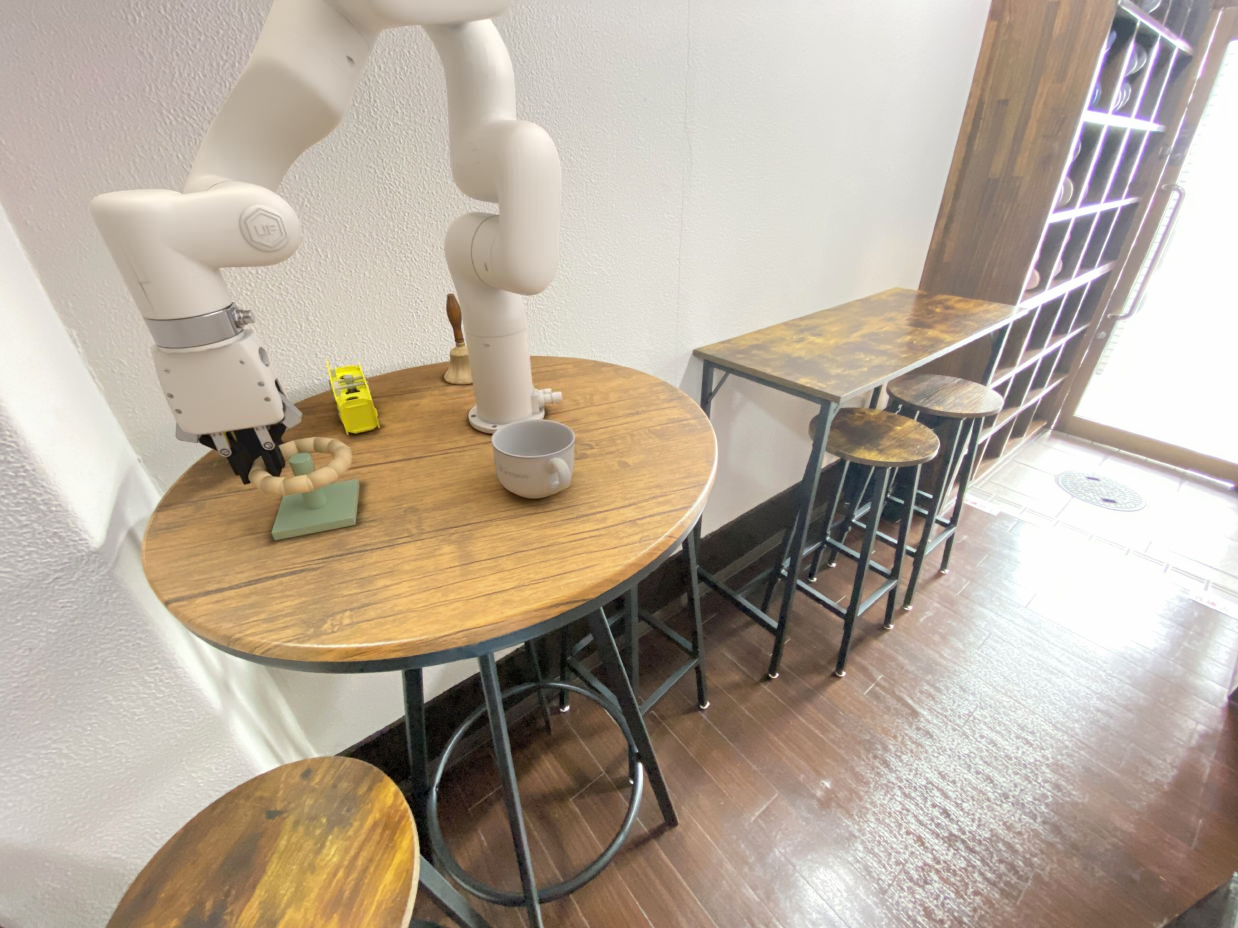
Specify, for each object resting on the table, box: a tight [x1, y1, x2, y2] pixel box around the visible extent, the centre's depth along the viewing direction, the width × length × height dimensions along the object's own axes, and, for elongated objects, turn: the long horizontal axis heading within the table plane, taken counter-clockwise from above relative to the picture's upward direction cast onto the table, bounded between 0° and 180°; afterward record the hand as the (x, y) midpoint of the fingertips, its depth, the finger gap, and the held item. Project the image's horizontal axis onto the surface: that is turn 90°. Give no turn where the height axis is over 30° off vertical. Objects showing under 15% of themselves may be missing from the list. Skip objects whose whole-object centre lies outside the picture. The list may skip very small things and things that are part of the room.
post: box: [271, 453, 360, 541], centre depth 67 cm, size 9×9×8 cm
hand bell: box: [443, 293, 473, 386], centre depth 101 cm, size 8×8×16 cm
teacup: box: [490, 418, 576, 500], centre depth 70 cm, size 14×11×8 cm
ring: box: [248, 436, 353, 496], centre depth 65 cm, size 11×11×2 cm
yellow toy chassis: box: [325, 359, 381, 436], centre depth 89 cm, size 16×6×8 cm, turn 29°
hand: (263, 474), depth 64 cm, fingers closed on ring, 2 cm apart
